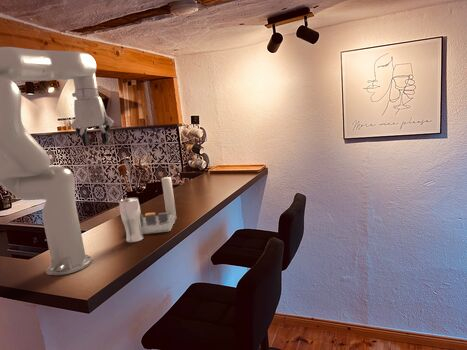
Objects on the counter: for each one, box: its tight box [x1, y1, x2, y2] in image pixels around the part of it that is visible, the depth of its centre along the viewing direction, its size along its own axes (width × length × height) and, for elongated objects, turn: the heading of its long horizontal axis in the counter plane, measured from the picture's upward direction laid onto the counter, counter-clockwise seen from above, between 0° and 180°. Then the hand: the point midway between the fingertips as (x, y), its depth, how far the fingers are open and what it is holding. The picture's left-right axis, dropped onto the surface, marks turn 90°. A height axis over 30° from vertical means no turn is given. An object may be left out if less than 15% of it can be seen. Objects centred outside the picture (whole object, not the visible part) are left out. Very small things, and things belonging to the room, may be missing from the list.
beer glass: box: [118, 197, 144, 243], centre depth 123 cm, size 7×7×15 cm
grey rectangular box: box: [157, 211, 169, 221], centre depth 134 cm, size 2×4×2 cm, turn 90°
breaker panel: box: [141, 215, 176, 235], centre depth 135 cm, size 12×16×3 cm
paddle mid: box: [144, 212, 157, 222], centre depth 134 cm, size 2×4×3 cm, turn 90°
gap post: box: [161, 176, 177, 220], centre depth 143 cm, size 4×4×18 cm
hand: (96, 144), depth 125 cm, fingers open, 6 cm apart
